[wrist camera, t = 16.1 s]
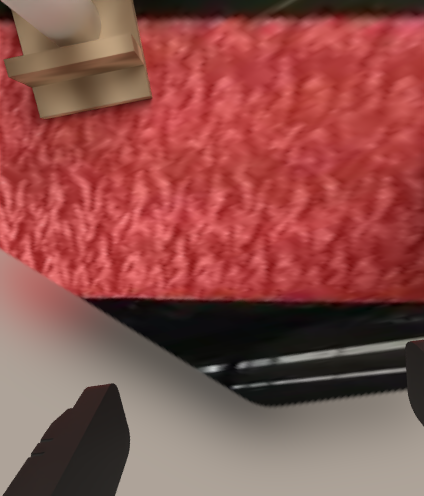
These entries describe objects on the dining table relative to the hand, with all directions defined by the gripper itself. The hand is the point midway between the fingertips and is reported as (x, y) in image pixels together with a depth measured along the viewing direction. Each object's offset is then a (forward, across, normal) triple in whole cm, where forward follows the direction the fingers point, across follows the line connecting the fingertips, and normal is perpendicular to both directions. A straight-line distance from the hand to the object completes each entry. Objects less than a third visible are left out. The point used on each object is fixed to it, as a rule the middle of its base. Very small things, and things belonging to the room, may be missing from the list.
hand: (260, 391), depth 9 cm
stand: (+30, +12, -23) cm, 40 cm away
